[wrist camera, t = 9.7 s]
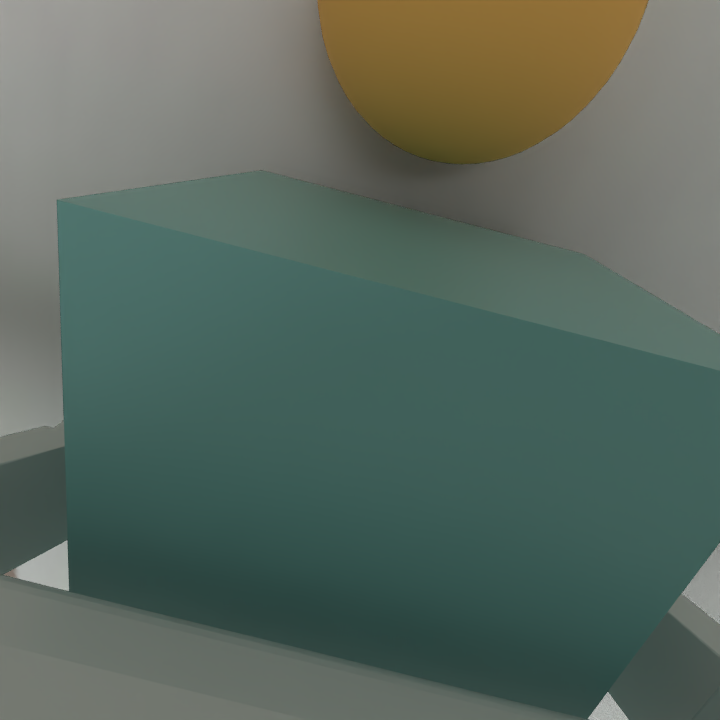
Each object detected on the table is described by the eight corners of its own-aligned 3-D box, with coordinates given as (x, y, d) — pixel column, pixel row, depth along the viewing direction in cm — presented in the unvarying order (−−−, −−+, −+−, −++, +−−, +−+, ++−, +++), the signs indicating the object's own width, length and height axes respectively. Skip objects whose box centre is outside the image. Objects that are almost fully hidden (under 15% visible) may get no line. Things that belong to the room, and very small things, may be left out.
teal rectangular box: (261, 170, 10) (57, 201, 4) (584, 254, 10) (827, 398, 4) (210, 536, 14) (75, 802, 8) (436, 592, 14) (456, 892, 8)
